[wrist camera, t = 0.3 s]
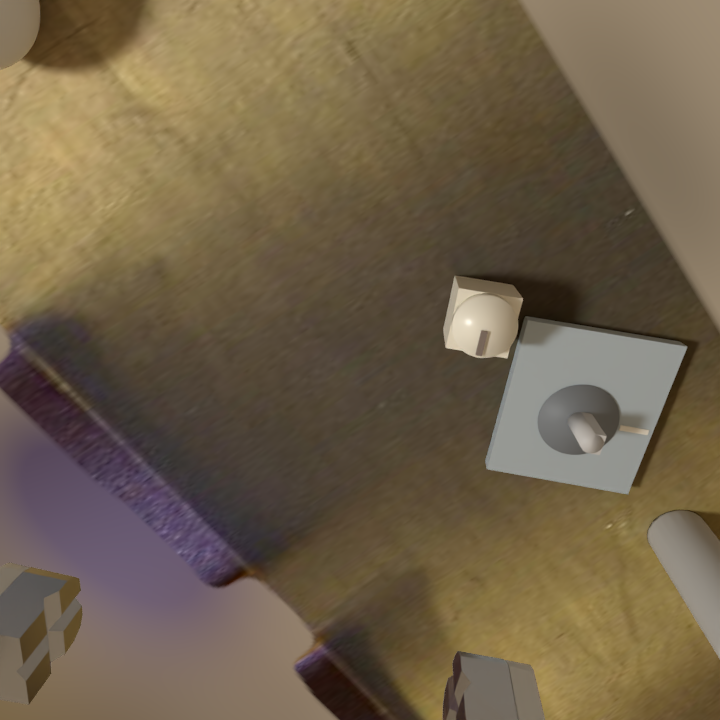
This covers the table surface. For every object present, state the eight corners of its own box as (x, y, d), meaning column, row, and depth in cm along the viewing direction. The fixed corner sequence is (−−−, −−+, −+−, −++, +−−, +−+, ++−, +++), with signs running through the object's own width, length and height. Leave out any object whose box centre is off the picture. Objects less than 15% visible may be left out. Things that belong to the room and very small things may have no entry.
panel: (524, 315, 55) (538, 336, 48) (680, 341, 54) (713, 365, 48) (485, 461, 61) (492, 495, 55) (622, 486, 61) (645, 523, 54)
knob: (454, 275, 54) (460, 292, 47) (513, 284, 53) (526, 302, 47) (443, 330, 56) (446, 353, 49) (498, 339, 56) (509, 364, 49)
